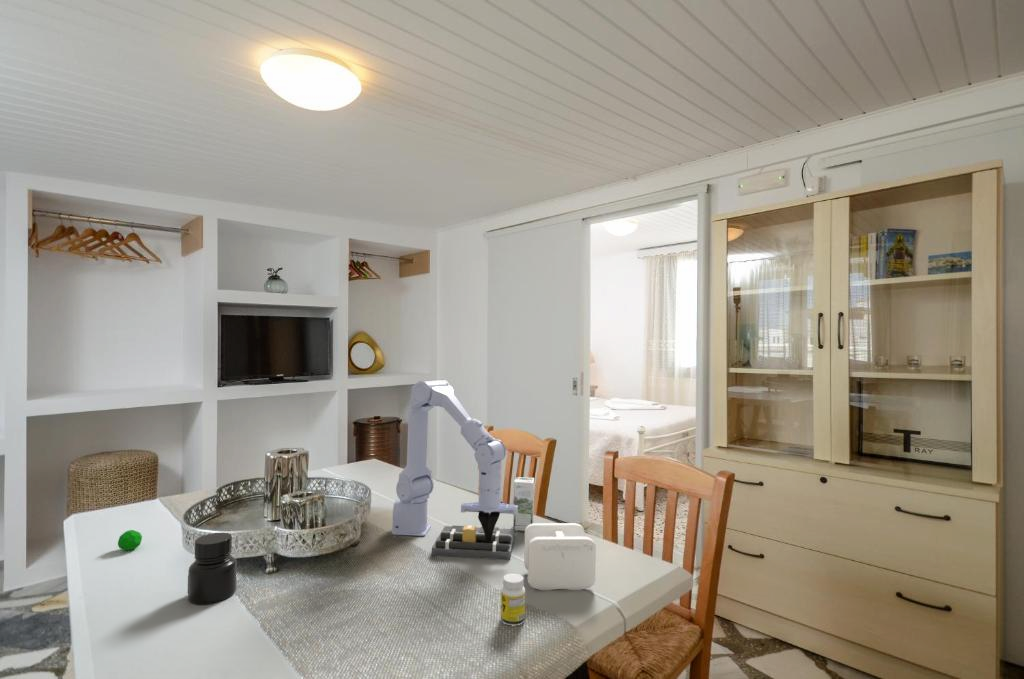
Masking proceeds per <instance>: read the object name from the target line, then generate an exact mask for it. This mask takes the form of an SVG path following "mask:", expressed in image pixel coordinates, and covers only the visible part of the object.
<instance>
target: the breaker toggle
mask: <svg viewBox="0 0 1024 679" xmlns="http://www.w3.org/2000/svg"><path fill="white" fill-rule="evenodd" d="M463 526H464V528H463V537H462V542H474V543H475V542H476V527H477V526H476V525H472V524H471V525H470V524H469V525H463Z"/></svg>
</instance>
